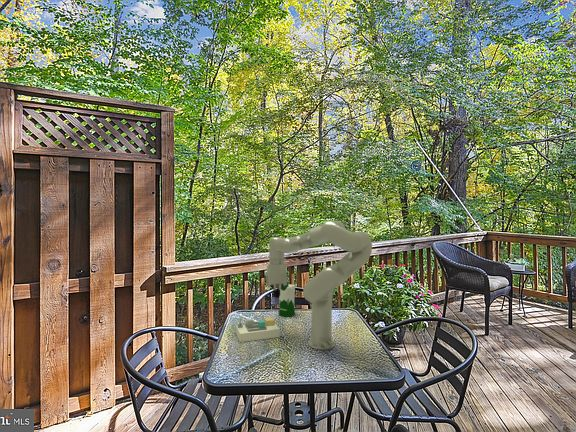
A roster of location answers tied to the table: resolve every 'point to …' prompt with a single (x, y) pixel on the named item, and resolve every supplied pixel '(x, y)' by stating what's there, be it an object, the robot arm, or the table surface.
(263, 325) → the slider teal
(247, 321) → the slider grey
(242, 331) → the panel
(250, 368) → the table surface
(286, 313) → the milk carton
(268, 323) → the button
